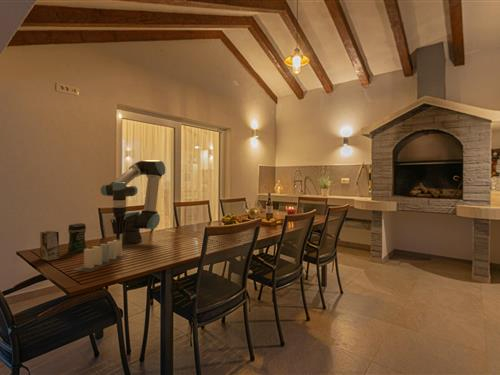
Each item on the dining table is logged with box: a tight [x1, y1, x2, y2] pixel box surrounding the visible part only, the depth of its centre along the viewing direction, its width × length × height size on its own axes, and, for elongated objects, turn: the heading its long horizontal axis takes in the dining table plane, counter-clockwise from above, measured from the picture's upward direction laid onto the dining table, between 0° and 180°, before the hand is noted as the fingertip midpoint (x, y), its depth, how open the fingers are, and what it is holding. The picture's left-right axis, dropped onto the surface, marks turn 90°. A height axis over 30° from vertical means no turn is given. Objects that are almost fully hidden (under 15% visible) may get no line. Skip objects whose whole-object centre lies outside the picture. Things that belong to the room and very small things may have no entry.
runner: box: [71, 254, 130, 273], centre depth 152 cm, size 30×12×1 cm, turn 166°
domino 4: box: [106, 241, 116, 259], centre depth 159 cm, size 2×5×10 cm, turn 76°
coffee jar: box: [67, 223, 87, 254], centre depth 173 cm, size 10×8×19 cm
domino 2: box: [91, 245, 102, 265], centre depth 148 cm, size 2×5×10 cm, turn 76°
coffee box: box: [39, 230, 60, 262], centre depth 158 cm, size 9×6×16 cm
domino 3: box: [99, 243, 109, 262], centre depth 154 cm, size 2×5×10 cm, turn 76°
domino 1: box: [83, 248, 94, 268], centre depth 143 cm, size 2×5×10 cm, turn 76°
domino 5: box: [112, 239, 124, 257], centre depth 164 cm, size 2×5×10 cm, turn 76°
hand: (119, 244), depth 165 cm, fingers closed
